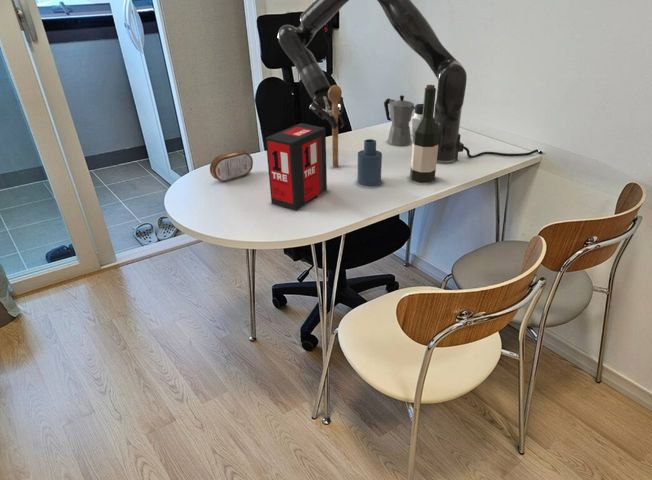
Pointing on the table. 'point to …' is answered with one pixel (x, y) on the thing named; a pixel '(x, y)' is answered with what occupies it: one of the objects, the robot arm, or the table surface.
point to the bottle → (369, 164)
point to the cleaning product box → (297, 165)
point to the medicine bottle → (417, 116)
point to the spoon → (335, 96)
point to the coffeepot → (399, 121)
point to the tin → (231, 165)
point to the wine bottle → (425, 141)
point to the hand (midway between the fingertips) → (339, 126)
